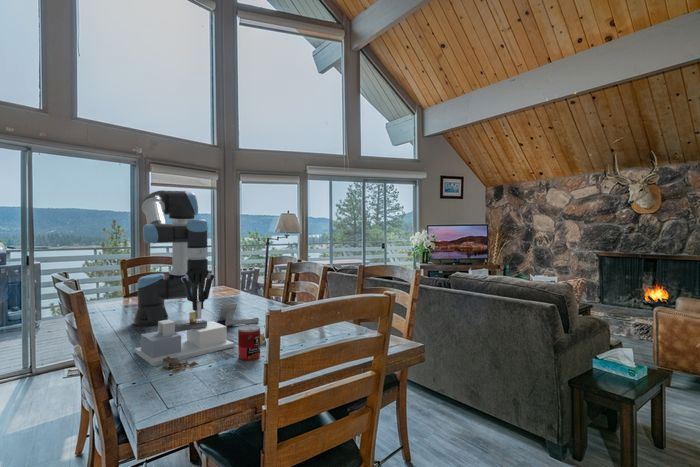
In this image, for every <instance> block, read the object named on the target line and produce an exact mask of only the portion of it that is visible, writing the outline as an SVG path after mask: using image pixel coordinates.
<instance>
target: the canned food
mask: <svg viewBox="0 0 700 467" xmlns="http://www.w3.org/2000/svg"><path fill="white" fill-rule="evenodd" d="M237 331H238V332H237V335H238V336H237V338H238V339H237V340H238V341H237V342H238V354H237V355H238V358H239V360H241V361H243V362H244V361H245V362H251V361H255V360H257V359H260V356H261V346H260V334H261V327H260V326H259V325H257V324H243V325H240V326H239V327H238V330H237Z"/></svg>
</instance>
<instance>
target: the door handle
mask: <svg viewBox="0 0 700 467" xmlns="http://www.w3.org/2000/svg"><path fill="white" fill-rule="evenodd" d="M237 306H238V304H237V303H231V304H221V307H220V309H219V314H218V317H217V320H218V322H221V321H224V324H225V325H224V326H227V328H228V327H233V326H235V325H252V324H251V323H254V324H259V322H260V318H259V317H254V318H246V319H245V318H243V319H233V317H234V314H235V312H236V310H237Z"/></svg>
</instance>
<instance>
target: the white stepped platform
mask: <svg viewBox="0 0 700 467" xmlns="http://www.w3.org/2000/svg"><path fill="white" fill-rule="evenodd" d="M175 325H176V321H174V320H171V319H168V320H163V321H158V325H157V331H156V330H155V331H152V332H146V333H141V334H140V347H135V348H134V353H135V354H136V355H138V356H139V357H140V358H142V359H143V360H144V361H145V362H147V363H148V364H150V366H152V367H156V366H159V365H160V366H161V365H164V364H166V363H163V359H164V358H167V357H168V356H169V357H170V358H177V359H178V360H179V361H181V360H184V359H190V358H192V357H197V356H201V355H206V354H210V353H214V352H219V351H223V350H228V349H230V348H234V347H235V343H234V342H232V341H230V340H228V339H227V337H228V335H227V334H228V333H227V330H228V329H227V328H228V327H227V326H225V325H223V324H221V323H218V322H216V321H213V320H212V321H207V327H201V328H196V329H191V330H186V337H185V338H182V335H181V334H179V333H178V332H175Z"/></svg>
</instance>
